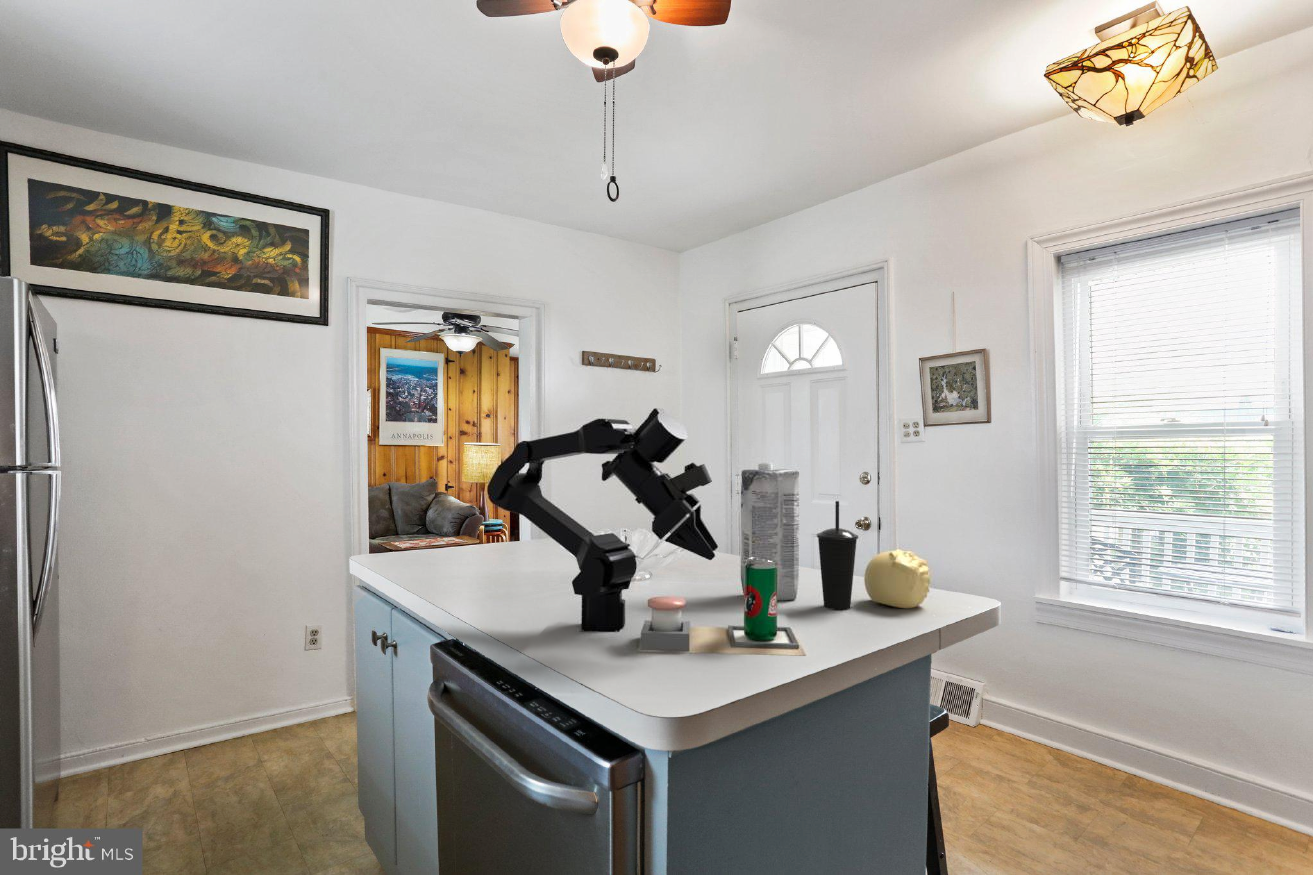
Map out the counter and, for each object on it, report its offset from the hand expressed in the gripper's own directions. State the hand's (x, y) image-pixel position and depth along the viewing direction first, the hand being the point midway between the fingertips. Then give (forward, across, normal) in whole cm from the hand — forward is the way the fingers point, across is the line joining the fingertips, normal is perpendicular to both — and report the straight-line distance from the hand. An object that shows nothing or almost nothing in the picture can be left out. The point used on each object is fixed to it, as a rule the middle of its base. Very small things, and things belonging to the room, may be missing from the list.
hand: (714, 553), depth 104 cm
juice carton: (+16, +32, +3) cm, 36 cm away
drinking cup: (+25, +26, -6) cm, 36 cm away
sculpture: (+34, +30, -14) cm, 47 cm away
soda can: (+14, 0, +4) cm, 15 cm away
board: (+10, -2, +9) cm, 14 cm away
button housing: (+4, -5, +14) cm, 15 cm away
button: (+3, -5, +12) cm, 14 cm away
